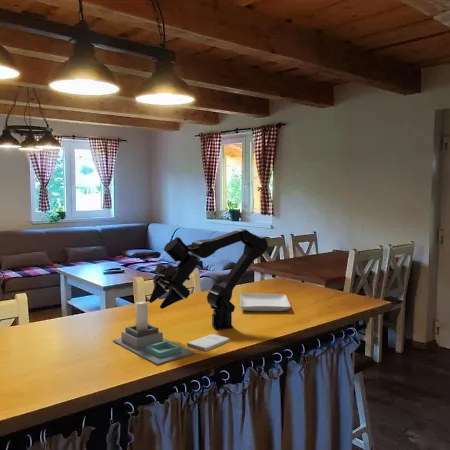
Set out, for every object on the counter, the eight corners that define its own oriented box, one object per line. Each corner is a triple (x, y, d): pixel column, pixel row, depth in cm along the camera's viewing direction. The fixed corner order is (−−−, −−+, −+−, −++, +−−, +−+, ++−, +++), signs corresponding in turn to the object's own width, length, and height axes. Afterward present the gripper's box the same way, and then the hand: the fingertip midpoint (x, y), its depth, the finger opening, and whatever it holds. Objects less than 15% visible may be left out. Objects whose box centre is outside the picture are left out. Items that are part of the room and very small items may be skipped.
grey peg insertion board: (112, 341, 159) (112, 326, 159) (148, 332, 168) (148, 319, 168) (157, 365, 138) (157, 348, 137) (195, 353, 147) (195, 338, 147)
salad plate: (291, 313, 193) (291, 305, 193) (239, 313, 194) (239, 305, 193) (285, 301, 214) (285, 293, 214) (239, 301, 215) (239, 293, 214)
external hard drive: (186, 347, 155) (211, 337, 164) (205, 353, 149) (229, 342, 159) (186, 342, 154) (211, 333, 164) (205, 348, 149) (229, 338, 159)
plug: (145, 329, 160) (144, 301, 160) (149, 332, 157) (149, 303, 156) (134, 331, 158) (133, 302, 157) (138, 334, 155) (138, 305, 154)
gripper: (157, 251, 169) (128, 285, 164) (181, 258, 153) (150, 296, 148) (177, 271, 174) (150, 304, 169) (202, 279, 158) (173, 316, 153)
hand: (155, 305), depth 159 cm, fingers open, 9 cm apart
